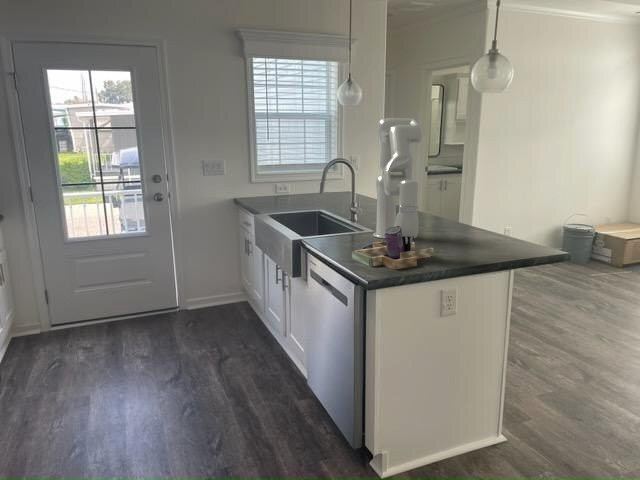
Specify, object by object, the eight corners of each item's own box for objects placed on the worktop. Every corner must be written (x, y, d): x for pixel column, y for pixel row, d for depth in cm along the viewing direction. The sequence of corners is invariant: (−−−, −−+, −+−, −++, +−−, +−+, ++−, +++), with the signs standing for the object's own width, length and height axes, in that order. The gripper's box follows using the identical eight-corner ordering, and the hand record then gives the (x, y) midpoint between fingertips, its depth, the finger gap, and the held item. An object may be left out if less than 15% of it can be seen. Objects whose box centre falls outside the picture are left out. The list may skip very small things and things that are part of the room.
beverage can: (403, 249, 207) (399, 224, 202) (406, 257, 201) (402, 232, 195) (387, 252, 208) (383, 227, 202) (389, 260, 202) (385, 235, 196)
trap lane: (401, 246, 224) (401, 238, 224) (446, 260, 200) (447, 252, 199) (341, 254, 208) (341, 247, 208) (383, 271, 183) (383, 262, 183)
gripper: (415, 207, 209) (413, 248, 212) (388, 209, 201) (387, 252, 205) (427, 209, 202) (425, 251, 206) (400, 211, 195) (398, 255, 198)
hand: (406, 251), depth 205 cm, fingers closed
